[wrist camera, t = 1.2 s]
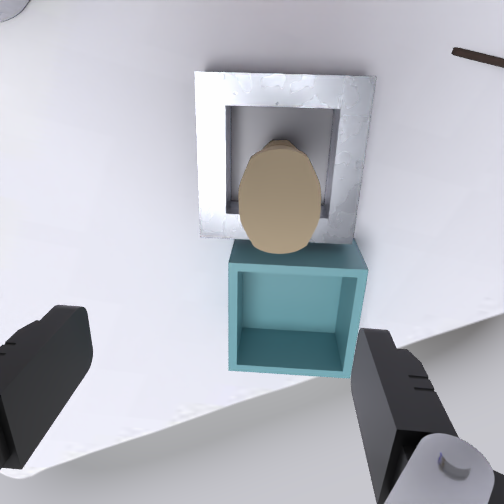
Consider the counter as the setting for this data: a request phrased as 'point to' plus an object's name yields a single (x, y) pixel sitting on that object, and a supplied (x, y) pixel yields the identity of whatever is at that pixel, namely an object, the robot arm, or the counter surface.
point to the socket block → (282, 95)
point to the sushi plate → (478, 57)
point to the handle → (279, 198)
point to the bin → (295, 309)
